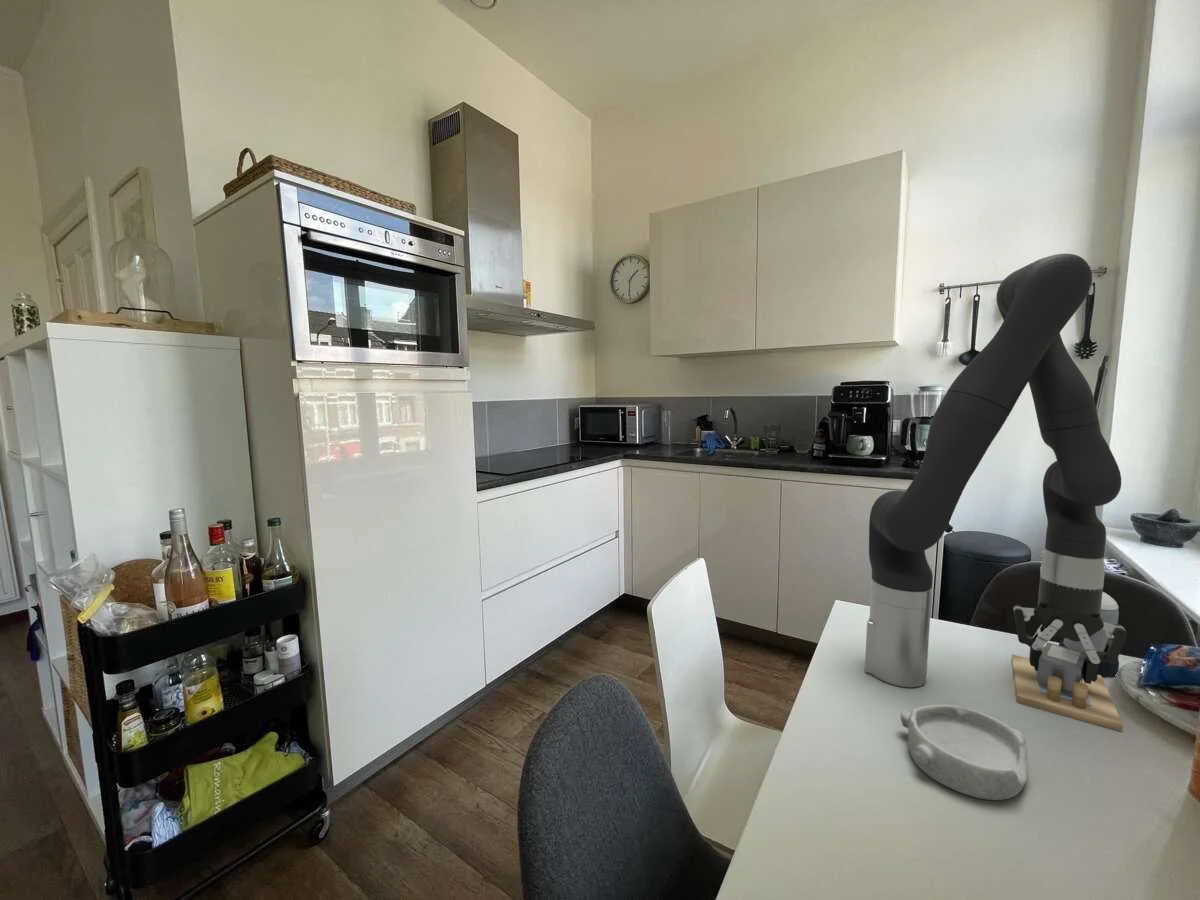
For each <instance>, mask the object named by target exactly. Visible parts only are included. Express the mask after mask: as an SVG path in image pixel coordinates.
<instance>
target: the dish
mask: <svg viewBox="0 0 1200 900" xmlns="http://www.w3.org/2000/svg"><path fill="white" fill-rule="evenodd" d="M900 722H901V723H902V724H901V725H902V726H903V727H904V728H906V729H907V731H908V732H907V733H908V734H907V735H908V736H907V743H908V749H909V753H910V755H911V758H912V759H913V761H914V763H915V764H916V765H917V766H918V767H919V768H920V769H921V770H922V771H923V772H924V773H925V774H926V775H928V776H929V777H930V778H931V779H933V780H934V781H936V782H938V783H940V785H943V786H945V787H947V788H948V789H952V790H953V791H956V792H958V793H960V794H964V795H966V796H969V797H972V798H977V799H982V800H989V801H1001V800H1002V801H1003V800H1008V799H1010V798H1011V799H1012V798H1014V797H1015V796H1016V795H1019V793H1020V792H1021V791H1022V789H1023V788H1024V786H1025V785H1026V782H1027V778H1028V772H1029V771H1028V770H1029V769H1028V768H1029V765H1028V764H1029V762H1028V749H1027V746H1026V744H1027V743H1026V742H1027V741H1026V738H1025V737H1024V735H1023V733H1022V732H1021V731H1019V730H1018V729H1015V728H1012V727H1010V726H1009V725H1008V724H1006V723H1004V722H1002V721H1001V720H998V719H997V718H995V717H993V716H991V715H988V714H986V713H983V712H981V711H978V710H975V709H973V708H969V707H962V706H961V707H960V706H957V705H954V704H948V703H947V704H946V703H945V704H942V703H941V704H931V705H930V704H929V705H924V706H923V705H922V706H919V707H916V708H914V709H912V711H911V712H910V711H908V710H906V709H905V710H902V711H901V712H900Z"/></svg>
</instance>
